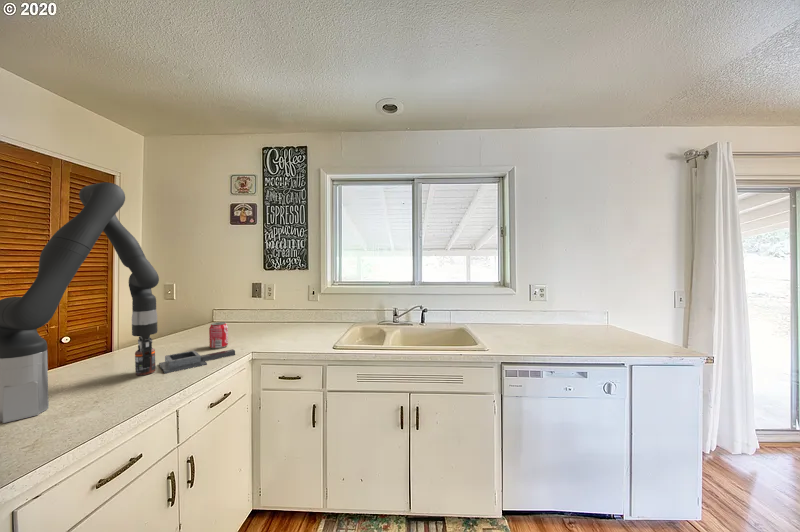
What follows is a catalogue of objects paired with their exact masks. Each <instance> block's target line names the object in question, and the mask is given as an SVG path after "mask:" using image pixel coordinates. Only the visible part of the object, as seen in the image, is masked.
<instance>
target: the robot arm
mask: <svg viewBox="0 0 800 532" xmlns="http://www.w3.org/2000/svg"><path fill="white" fill-rule="evenodd" d="M78 197H79V201H80V202H81V203H82V205H83V208H82V209H81V211H79V212H78V214H76V215H75V216H73V218H72V219H70V220H69V221H67V222H66V223H65V224H63V225H62V226H61V227H60V228H59V229H57V230H56V232H55V233H54V234H53V235H52V236H51V237H50V239H49V240H48V241H47V243H46V245H45V246H44V247H43V249H42V250H41V252H40V256H39V260H38V269H37V270H38V272H37V275H36V278H35V280H34V281H33V283H32V284H31V285H30V286H29V288H28V289H27V291H26V292H25V293H24V294H23V295H22V296H8V297H4V298H2V299H0V422H1V423H2V424H5V423H10V422H15V421H17V420H18V421H19V420H22V419H26V418H30V417H34V416H38V415H40V414H41V413H43V412H45V411H47V410H48V409H49V407H50V406H49V376H48V374H49V371H48V370H49V368H48V367H49V366H48V343H47V340H46V339H45V338H43V337H42V336H41V335H40V334H39V333H38V329H40V328H41V327H44V326H45V325H46V324H47V323H49V322H50V321H51V320H52V318H53V317H54V314H55V313H56V311H57V310H58V307H59V305H60V302H61V300H62V298H63V296H64V294H65V292H66V290H67V288H68V286H69V285H70V283H71V282H72V280H73V279H74V277H75V276H76V274H77V272H78V271H79V269H80V268H81V266H82V264H83V263H84V262H85V260H86V259H87V258H88V256H89V255H90V253H91V251H92V249H93V248H94V246H95V244H96V242H97V241H98V240H99V237H101V235H102V233H104V234H105V235H106V237H107V239H108V240H109V242H110V243H111V245H112V246H113V248H114V250H115V252H116V254H117V256H118V258H119V260H120V262H121V263H122V265H124V267H126V268H128V269H129V271H130V272H131V274H130V275H129V278H128V288H129V292H130V296H131V300H132V302H131V303H132V305H131V306H132V307H131V309H132V312H131V336H133V337H138V339H137V344H138V345H139V346H140V352H141V353H142V359H143V368H148V367H150V357H151V356H152V348H153V338H152V337H151V335H155V334H157V333H158V311H157V297H156V296H155V295H154V294H153V292H152V289H153V288H155V287H156V286H158V284H159V282H160V277H159V274H158V272H157V270H156V269H155V268H154V266H153V265H152V264H151V262H150V261H149V260H148V258H147V257H146V256H145V253H144V250H143V249H142V247H141V245H140V243H139V241H138V240H137V239H136V238H135V236H134V235H132V233H131V232H130V231H129V230H128V229H127V228H126V227H125V226H124V225H123V224H122V223H121V222H120V220H119V219H118V217H117V215H116V214H117V213H118V212H119V211H120V209H121V208H122V207H123V206H124V204H125V201H126V194H125V192H124V190H123V188H122V187H121V186H119V185H118V184H115V183H113V182H106V181H105V182H104V181H103V182H96V183H93V184H89V185H86V186H83V187H82V188H81V189H80V190H79V193H78ZM145 352H149V354H145Z"/></svg>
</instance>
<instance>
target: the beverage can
mask: <svg viewBox="0 0 800 532" xmlns="http://www.w3.org/2000/svg"><path fill="white" fill-rule="evenodd" d="M208 330H209V337H208V338H209V339H208V340H209V341H208V343H209V348H211V349H212V350H218V349H219V348H220V349H224V348H226V347H227V346H228V345H229V327H228V324H227V322H226V321H217V322H212V323H210V326H209V328H208Z"/></svg>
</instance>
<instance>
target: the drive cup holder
mask: <svg viewBox="0 0 800 532" xmlns="http://www.w3.org/2000/svg"><path fill="white" fill-rule="evenodd" d="M232 356H236V350H235V349H228V350H223V351H218V352H212V353H207V354H202V355H200V354H199V353H198V352H197V351H196V350H188V351H184V352H183V351H182V352H179V353H178V352H177V353H172V354H168V355H164V361H162V362H161V361H160V362H159V363H158V366H159V367H160V369H161V371H162V372H163V374H165V375H166V374H171V373H174V371H175V372H179V370H180V371H183V369H184V370H189V369H193V367H194V368H196V367H197V366H198V367H201V366H202V365H203V366H207V365H208V363H207V362H208V361H211V360H217V359H222V357H223V358H226V357H232ZM203 366H202V367H203ZM188 368H189V369H188Z"/></svg>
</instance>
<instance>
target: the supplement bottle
mask: <svg viewBox="0 0 800 532" xmlns="http://www.w3.org/2000/svg"><path fill="white" fill-rule="evenodd" d="M145 354H149V352H145ZM134 363H135V365H134V366H135V367H134V368H135V376H139V377H140V376H147V375H151V374H153V373H155V371H156V349H155V348H154V347H152V356H151V357H150V367H148V368H143V359H142V353H141V352H140V346H139V344H138V345H137V350H135V353H134Z"/></svg>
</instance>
